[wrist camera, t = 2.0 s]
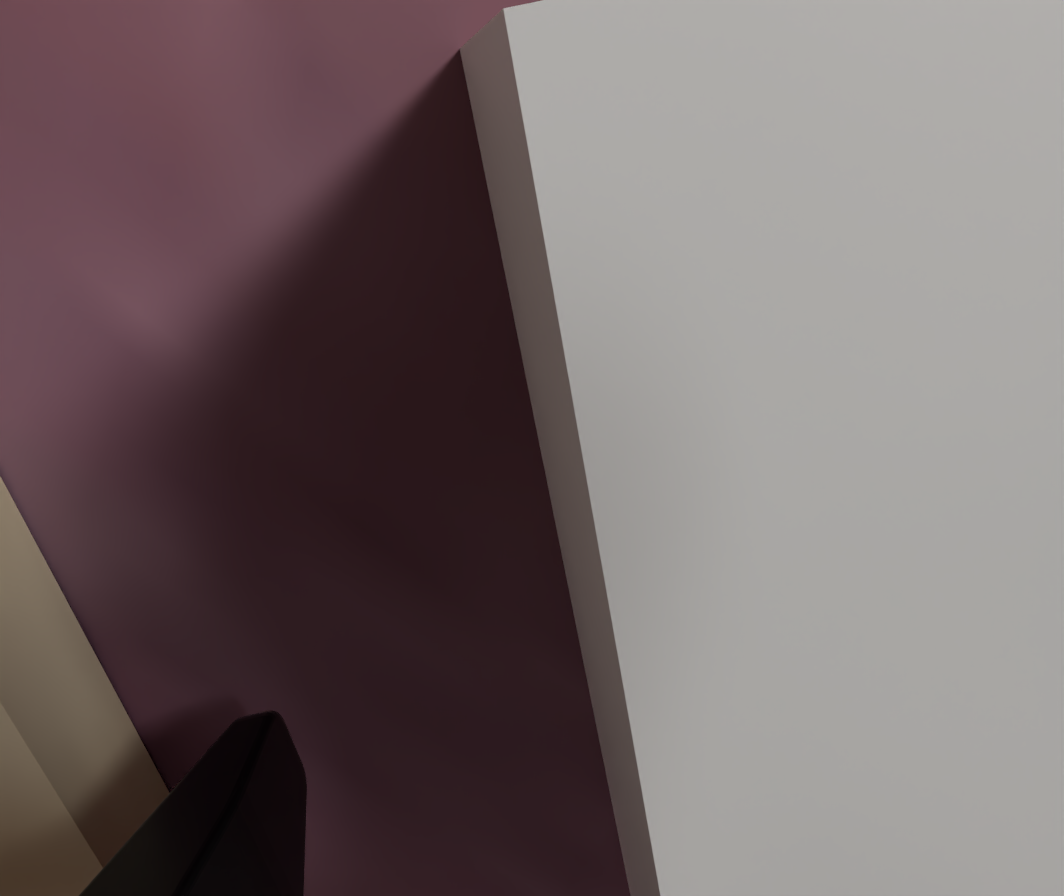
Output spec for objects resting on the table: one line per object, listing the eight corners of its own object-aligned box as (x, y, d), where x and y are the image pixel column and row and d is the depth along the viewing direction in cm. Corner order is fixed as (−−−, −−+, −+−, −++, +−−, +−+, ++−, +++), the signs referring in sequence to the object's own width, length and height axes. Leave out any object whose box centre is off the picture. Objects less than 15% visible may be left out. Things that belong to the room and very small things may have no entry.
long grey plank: (796, 886, 12) (1008, 1361, 8) (635, 923, 12) (753, 1423, 8) (740, -8, 7) (1279, -151, 3) (459, 49, 7) (506, 8, 3)
